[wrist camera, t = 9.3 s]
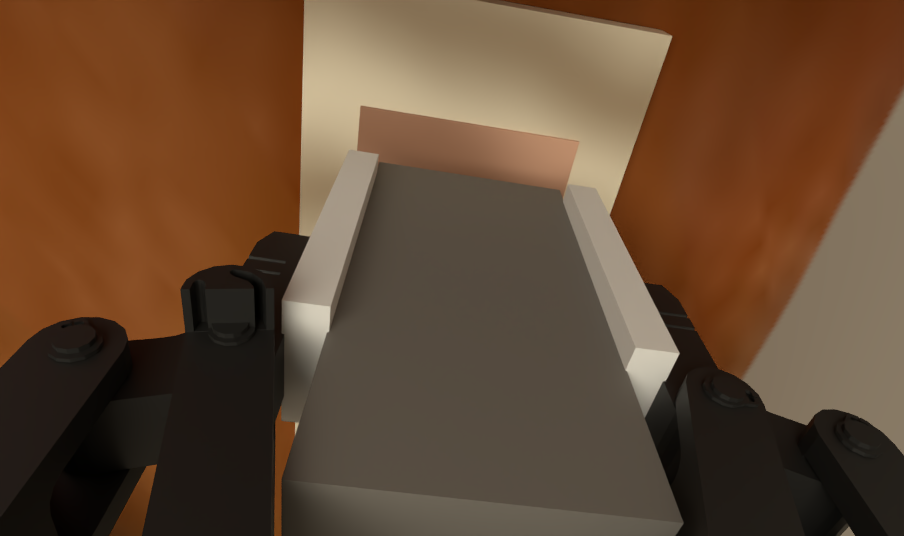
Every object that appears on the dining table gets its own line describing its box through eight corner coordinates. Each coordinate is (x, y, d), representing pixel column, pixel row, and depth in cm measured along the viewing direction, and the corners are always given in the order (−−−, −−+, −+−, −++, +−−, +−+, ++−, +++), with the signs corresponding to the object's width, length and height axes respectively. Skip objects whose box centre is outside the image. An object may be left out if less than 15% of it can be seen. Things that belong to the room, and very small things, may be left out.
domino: (544, 239, 16) (640, 589, 8) (373, 214, 16) (281, 554, 7) (559, 189, 15) (683, 522, 7) (379, 161, 15) (282, 480, 7)
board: (472, 584, 32) (473, 604, 31) (296, 568, 31) (291, 588, 30) (661, 29, 16) (673, 36, 15) (313, -34, 15) (304, -31, 14)
